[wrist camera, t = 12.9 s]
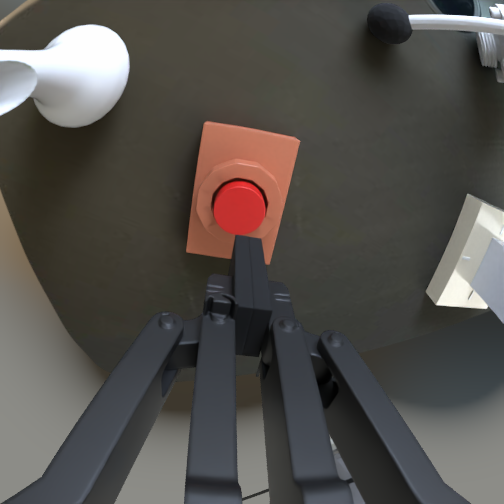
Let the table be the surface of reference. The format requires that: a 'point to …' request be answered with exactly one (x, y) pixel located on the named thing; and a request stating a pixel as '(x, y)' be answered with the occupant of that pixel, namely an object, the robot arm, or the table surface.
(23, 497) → the robot arm
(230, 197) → the button
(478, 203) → the cream rectangular base
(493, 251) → the grey rectangular block
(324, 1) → the table surface
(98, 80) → the flower vase
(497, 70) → the mechanical valve
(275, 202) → the button block
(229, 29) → the table surface
